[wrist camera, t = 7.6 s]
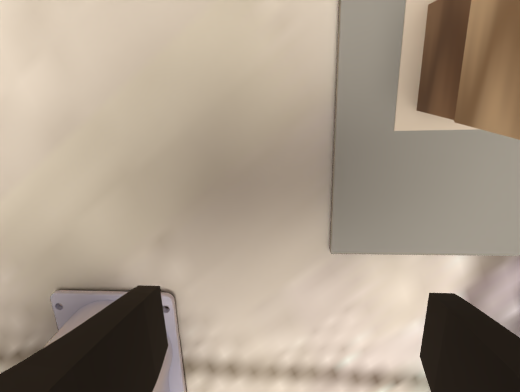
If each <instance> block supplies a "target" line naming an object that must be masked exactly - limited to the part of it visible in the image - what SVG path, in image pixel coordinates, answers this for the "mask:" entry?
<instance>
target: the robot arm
mask: <svg viewBox="0 0 520 392" xmlns="http://www.w3.org/2000/svg"><path fill="white" fill-rule="evenodd" d="M50 300H51V303H52V307H53V311H54V315H55V319H56V323H57V326H58V330H59V331H58V332H57V333H56V334H55V335H54V336H53V337H52V339H51V340H50V341H49V342H48V343H47V344H46V345H45V346H44V347H43V348H42V349H41V350H40V351H38V352H37V353H35V354H33V355H32V356H30V357H29V358H27V359H25V360H24V361H22V362H20V363H18V364H17V365H15V366H13V367H11V368H10V369H8V370H6V371H4V372H3V373H1V374H0V392H186V386H185V379H184V371H183V363H182V355H181V347H180V339H179V331H178V324H177V316H176V308H175V300H174V297H173V296H172V295H171V294H170V293H166V292H160V286H137V287H136V288H134V289H132V290H131V291H129V292H123V291H76V290H57V291H55V292H54V293H53V294H52V295H51V297H50ZM60 304H61V305H62V306H61V305H60ZM164 306H168V307H169V309H166V308H165V307H164ZM420 358H421V361H422V365H423V368H424V371H425V374H426V378H427V381H428V384H429V387H430V390H431V392H520V338H519V337H518V336H516V335H515V334H513V333H512V332H511V331H509V330H508V329H506V328H505V327H503V326H502V325H500V324H499V323H498V322H496V321H495V320H493V319H492V318H490V317H489V316H487V315H486V314H485V313H483V312H482V311H480V310H479V309H477V308H476V307H474V306H473V305H471V304H470V303H468V302H467V301H465V300H464V299H462V298H461V297H459V296H457V295H456V294H452V293H429V299H428V306H427V312H426V319H425V326H424V332H423V339H422V346H421V352H420Z"/></svg>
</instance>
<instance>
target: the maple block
mask: <svg viewBox="0 0 520 392" xmlns="http://www.w3.org/2000/svg"><path fill="white" fill-rule="evenodd" d="M454 122H455V123H459V124H462V125H466V126H470V127H474V128H477V129H481V130H485V131H489V132H492V133H496V134H500V135H503V136H507V137H511V138H515V139H518V140H520V0H471V6H470V13H469V20H468V27H467V35H466V42H465V49H464V56H463V63H462V70H461V77H460V84H459V91H458V98H457V105H456V112H455V119H454Z"/></svg>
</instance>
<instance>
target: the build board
mask: <svg viewBox="0 0 520 392" xmlns="http://www.w3.org/2000/svg"><path fill="white" fill-rule="evenodd" d="M435 1H436V0H339V20H338V46H337V72H336V99H335V125H334V151H333V178H332V204H331V230H330V252H331V254H394V255H484V256H520V140H518V139H515V138H511V137H507V136H503V135H500V134H496V133H492V132H489V131H485V130H481V129H477V128H474V127H470V126H466V125H462V124H459V123H455V122H454V120H452V119H448V118H444V117H440V116H436V115H432V114H428V113H424V112H420V111H417V102H418V93H419V84H420V75H421V66H422V57H423V48H424V39H425V30H426V21H427V12H428V5H429V4H431V3H433V2H435Z"/></svg>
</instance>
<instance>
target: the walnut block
mask: <svg viewBox="0 0 520 392" xmlns="http://www.w3.org/2000/svg"><path fill="white" fill-rule="evenodd" d="M470 6H471V0H436V1H435V2H433V3H431V4H429V5H428V12H427V21H426V30H425V39H424V48H423V57H422V66H421V75H420V84H419V93H418V102H417V111H420V112H424V113H428V114H432V115H436V116H440V117H444V118H448V119H452V120H454V119H455V112H456V105H457V98H458V91H459V84H460V77H461V70H462V63H463V56H464V49H465V42H466V35H467V27H468V20H469V13H470Z"/></svg>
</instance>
